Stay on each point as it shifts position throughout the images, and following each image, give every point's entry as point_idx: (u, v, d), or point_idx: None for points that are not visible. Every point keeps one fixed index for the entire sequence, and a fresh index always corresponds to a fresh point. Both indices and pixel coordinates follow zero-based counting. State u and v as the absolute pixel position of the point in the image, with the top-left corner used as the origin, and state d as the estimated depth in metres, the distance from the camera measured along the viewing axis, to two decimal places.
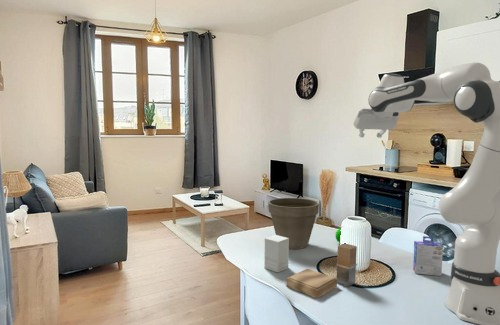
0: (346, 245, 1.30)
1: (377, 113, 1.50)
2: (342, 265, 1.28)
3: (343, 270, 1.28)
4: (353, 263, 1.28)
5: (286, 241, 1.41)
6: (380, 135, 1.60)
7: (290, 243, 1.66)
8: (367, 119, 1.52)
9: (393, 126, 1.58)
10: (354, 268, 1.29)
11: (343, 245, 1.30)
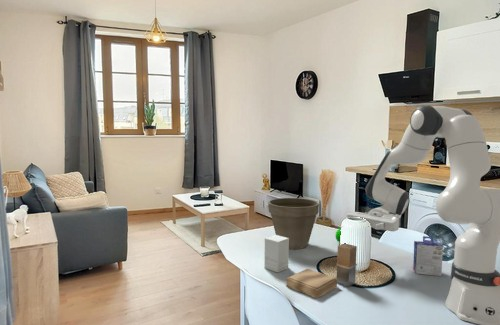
0: (346, 245, 1.30)
1: None
2: (342, 265, 1.28)
3: (343, 270, 1.28)
4: (353, 263, 1.28)
5: (286, 241, 1.41)
6: (376, 223, 1.35)
7: (290, 243, 1.66)
8: (360, 214, 1.48)
9: (392, 221, 1.36)
10: (354, 268, 1.29)
11: (343, 245, 1.30)
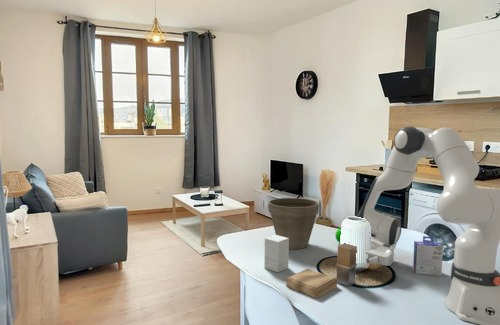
0: (346, 245, 1.30)
1: None
2: (342, 265, 1.28)
3: (343, 270, 1.28)
4: (353, 263, 1.28)
5: (286, 241, 1.41)
6: (370, 258, 1.33)
7: (290, 243, 1.66)
8: None
9: (386, 255, 1.34)
10: (354, 268, 1.29)
11: (343, 245, 1.30)
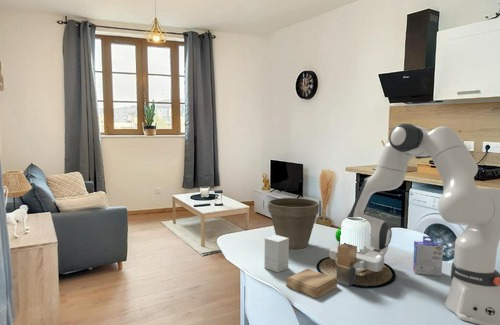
0: (346, 245, 1.30)
1: None
2: (342, 265, 1.28)
3: (343, 270, 1.28)
4: None
5: (286, 241, 1.41)
6: (355, 262, 1.28)
7: (290, 243, 1.66)
8: None
9: (376, 260, 1.27)
10: None
11: (343, 245, 1.30)
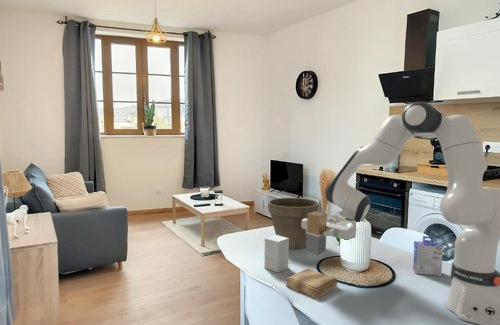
0: (316, 213, 1.26)
1: None
2: (311, 233, 1.24)
3: (313, 238, 1.24)
4: None
5: (286, 241, 1.41)
6: (325, 230, 1.24)
7: (290, 243, 1.66)
8: None
9: (346, 228, 1.23)
10: (324, 236, 1.25)
11: (313, 213, 1.26)
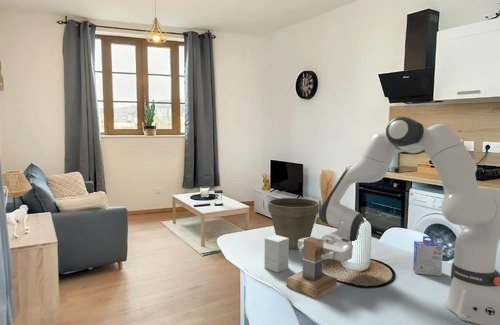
0: (313, 239, 1.26)
1: None
2: (308, 259, 1.24)
3: (309, 265, 1.24)
4: (319, 257, 1.24)
5: (286, 241, 1.41)
6: (325, 253, 1.23)
7: (290, 243, 1.66)
8: None
9: (342, 250, 1.23)
10: (320, 262, 1.25)
11: (309, 239, 1.26)
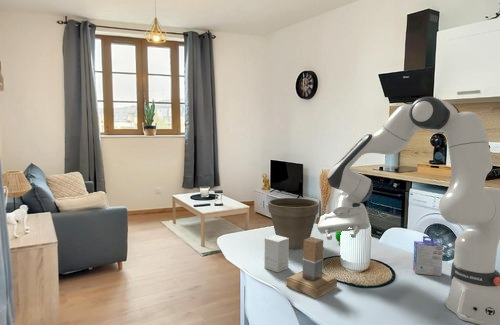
0: (312, 239, 1.26)
1: (334, 209, 1.42)
2: (308, 259, 1.24)
3: (309, 265, 1.24)
4: (319, 257, 1.24)
5: (286, 241, 1.41)
6: (352, 231, 1.31)
7: (290, 243, 1.66)
8: (328, 218, 1.41)
9: (363, 218, 1.32)
10: (320, 262, 1.25)
11: (309, 239, 1.26)
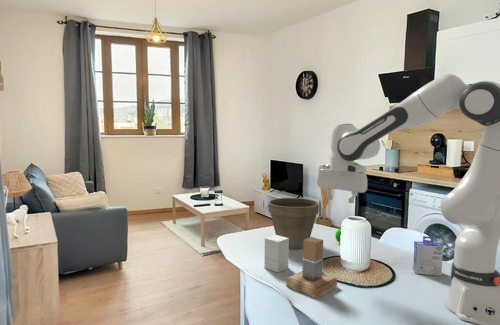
0: (312, 239, 1.26)
1: (330, 167, 1.36)
2: (308, 259, 1.24)
3: (309, 265, 1.24)
4: (319, 257, 1.24)
5: (286, 241, 1.41)
6: (350, 199, 1.33)
7: (290, 243, 1.66)
8: (326, 176, 1.39)
9: (359, 187, 1.29)
10: (320, 262, 1.25)
11: (309, 239, 1.26)
